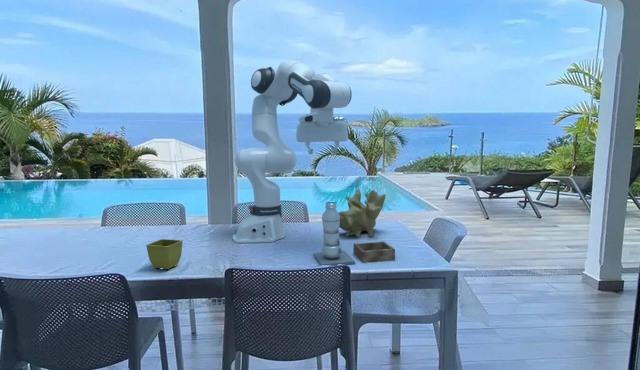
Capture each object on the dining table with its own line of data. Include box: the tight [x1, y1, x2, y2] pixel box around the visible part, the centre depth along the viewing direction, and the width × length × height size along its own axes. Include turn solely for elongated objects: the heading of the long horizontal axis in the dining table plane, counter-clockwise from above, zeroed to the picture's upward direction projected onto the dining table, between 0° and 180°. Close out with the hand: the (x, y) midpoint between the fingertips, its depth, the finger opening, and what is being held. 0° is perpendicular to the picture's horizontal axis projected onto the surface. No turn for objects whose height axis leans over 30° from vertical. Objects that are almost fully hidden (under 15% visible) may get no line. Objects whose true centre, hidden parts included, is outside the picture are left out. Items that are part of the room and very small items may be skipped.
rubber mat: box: [312, 250, 356, 266], centre depth 159 cm, size 12×14×1 cm
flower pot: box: [145, 238, 183, 270], centre depth 152 cm, size 9×9×9 cm
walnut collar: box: [353, 241, 396, 264], centre depth 161 cm, size 12×11×4 cm
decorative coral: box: [338, 188, 386, 238], centre depth 194 cm, size 26×22×25 cm
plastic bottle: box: [321, 201, 342, 259], centre depth 156 cm, size 6×7×20 cm
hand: (322, 153), depth 172 cm, fingers open, 8 cm apart
